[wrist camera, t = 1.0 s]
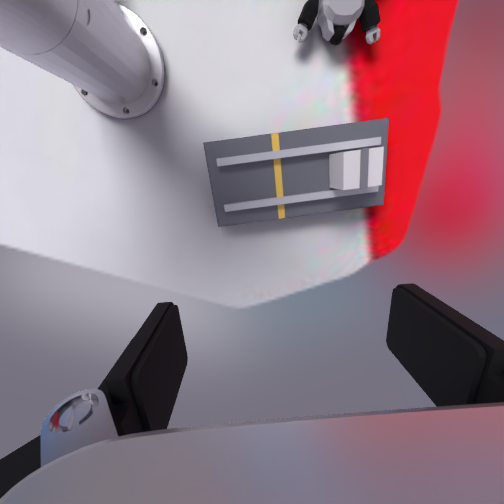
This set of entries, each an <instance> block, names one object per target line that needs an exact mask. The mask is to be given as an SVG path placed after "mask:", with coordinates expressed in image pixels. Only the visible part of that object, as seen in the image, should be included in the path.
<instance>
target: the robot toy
mask: <svg viewBox="0 0 504 504" xmlns="http://www.w3.org/2000/svg"><path fill="white" fill-rule="evenodd" d="M316 16H317V18H318V24H319V25H320V27H321V31H322V36H323V38H324V39H325V40H326V41H329V40H330V42H331V44H332V45H338V44H340V43H341V41H342V40H343V39H345V38H346V37H347V35H348V34H349V33H350V32H351V31H352V30H353V27H354V25H355V23H356V20H357V19H358V18H359V16H360V22H361V27H362V32H366V31H367V33H366V41H367V43H368V44H372V43H373V42H376V41H377V40H378V39H379V37H380V29H379V28H378V27H377V24H378V23H379V22H380V15H379V9H378V4H377V3H376V2H375V1H374V0H320V1H319V0H308V1H307V2H306V4H305V5H304V7H303V9H302V12H301V14H300V17H299V19H298V25H297V26H296V27H295V29H294V34H293V35H294V38H295V39H296V40H297V37H298V34H301V35H302V36H301V38H300V39H299V42H304V41H305V39H306V38H307V34H308V31H309V30H310V29H311V27H312V25H313V23H314V21H315V18H316ZM373 38H374V40H373Z"/></svg>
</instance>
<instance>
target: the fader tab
mask: <svg viewBox="0 0 504 504" xmlns="http://www.w3.org/2000/svg"><path fill="white" fill-rule="evenodd" d="M383 154H384V147H377V148H362V149H360V150H354V151H347V152H341V153H335V154H330V155H329V179H330V188H334V189H340V190H349V189H356V188H359V189H366V188H368V187H371V186H378V185H382V171H383Z"/></svg>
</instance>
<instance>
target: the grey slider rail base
mask: <svg viewBox="0 0 504 504" xmlns="http://www.w3.org/2000/svg"><path fill="white" fill-rule="evenodd" d="M388 124H389V118H386V119H378V120H371V121H363V122H356V123H348V124H341V125H333V126H326V127H318V128H311V129H303V130H296V131H288V132H281V133H273V134H266V135H258V136H251V137H243V138H236V139H228V140H221V141H213V142H206V143H203V144H204V149H205V155H206V160H207V166H208V172H209V177H210V183H211V188H212V194H213V200H214V205H215V211H216V217H217V222H218V227H220V226H228V225H235V224H243V223H250V222H258V221H265V220H273V219H281V218H287V217H295V216H302V215H310V214H317V213H325V212H332V211H340V210H347V209H355V208H362V207H370V206H377V205H384V189H385V172H386V156H387V140H388ZM377 147H384V154H383V171H382V185H378V186H371V187H368V188H366V189H359V188H356V189H349V190H340V189H334V188H330V179H329V155H330V154H335V153H341V152H347V151H354V150H360V149H362V148H377Z"/></svg>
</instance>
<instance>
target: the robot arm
mask: <svg viewBox="0 0 504 504" xmlns="http://www.w3.org/2000/svg"><path fill="white" fill-rule="evenodd" d="M145 33H147V34H146V35H145ZM144 35H145V36H144ZM0 47H2V48H4V49H5V50H7V51H9V52H11V53H13V54H15V55H17V56H19V57H21V58H23V59H25V60H27V61H29V62H31V63H33V64H34V65H36V66H38V67H40V68H42V69H44V70H46V71H48V72H50V73H52V74H54V75H56V76H58V77H60V78H62V79H64V80H65V81H67V82H69V83H71V84H73V86H74V87H75V89H76V90H77V92H78V93H79V94H80V95H81V97H82V98H83V99H84V100H85V101H86V102H87V103H89V104H90V105H91V106H92V107H94V108H95V109H97V110H98V111H100V112H102V113H104V114H106V115H109V116H112V117H115V118H122V119H128V118H135V117H138V116H141V115H143V114H144V113H146V112H148V111H149V110H150V109H151V108H152V107H153V106H154V105H155V103H156V102H157V100H158V99H159V97H160V94H161V92H162V89H163V84H164V72H165V70H164V62H163V57H162V54H161V50H160V47H159V45H158V43H157V41H156V39H155V37H154V36H153V34H152V32H151V31H150V29H149V28H148V27H147V25H146V24H145V23H144V21H143V20H142V19H141V18H140V17H139V16H137V15H136V14H135V13H134V12H133V11H131V10H130V9H128V8H127V7H125V6H123V5H120V4H118V3H116V2H115V1H114V0H0ZM156 83H158V85H157V86H155V84H156ZM87 93H88V95H87ZM128 110H129V113H127V111H128ZM386 342H387V346H388V348H389V350H391V352H392V353H393V354H394V355H395V357H396V358H397V359H398V360H399V361H400V363H401V364H402V365H403V366H404V368H405V369H406V370H407V371H408V372H409V374H410V375H411V376H412V377H413V378H414V379H415V381H416V382H417V383H418V384H419V386H420V387H421V388H422V389H423V390H424V392H426V394H427V395H428V396H429V398H430V399H431V400H432V401H433V403H434V404H435V405H436V406H437V407H425V408H411V409H397V410H384V411H372V412H371V411H370V412H358V413H344V414H332V415H319V416H306V417H294V418H282V419H270V420H258V421H246V422H235V423H223V424H211V425H201V426H192V427H181V428H172V429H167V426H168V423H169V420H170V417H171V414H172V411H173V407H174V404H175V401H176V398H177V394H178V391H179V388H180V385H181V382H182V378H183V375H184V372H185V369H186V366H187V351H186V346H185V342H184V336H183V331H182V325H181V320H180V315H179V310H178V306H177V305H174V304H173V303H172V302H164V303H158V304H157V305H156V306H155V308H154V309H153V311H152V312H151V313H150V315H149V316H148V318H147V319H146V321H145V322H144V324H143V325H142V327H141V328H140V329H139V331H138V332H137V334H136V335H135V337H134V338H133V339H132V340H131V342H130V343H129V345H128V346H127V347H126V349H125V350H124V352H123V353H122V355H121V356H120V358H119V359H118V360H117V362H116V363H115V365H114V366H113V368H112V369H111V370H110V372H109V373H108V375H107V376H106V378H105V379H104V381H103V382H102V383H101V385H100V386H99V388H98V389H87V390H83V391H80V392H78V393H76V394H73V395H71V396H70V397H68V398H66V399H65V400H63V401H62V402H60V403H59V404H58V405H57V406H56V407H54V408H53V409H52V411H51V412H50V413H49V414H48V415H47V416H46V418H45V420H44V421H43V423H42V426H41V431H40V433H41V435H40V436H38V437H36V438H35V439H33V440H31V441H30V442H28V443H27V444H25V445H23V446H22V447H20V448H18V449H17V450H15V451H14V452H12V453H10V454H9V455H7V456H6V457H4V458H2V459H1V460H0V504H504V341H503V340H502V339H500V338H499V337H497V336H495V335H494V334H492V333H491V332H489V331H488V330H486V329H484V328H483V327H481V326H480V325H478V324H477V323H475V322H473V321H472V320H470V319H469V318H467V317H466V316H464V315H462V314H461V313H459V312H458V311H456V310H455V309H453V308H451V307H450V306H448V305H447V304H445V303H444V302H442V301H440V300H439V299H437V298H436V297H434V296H433V295H431V294H429V293H428V292H426V291H425V290H423V289H421V288H420V287H419V286H417V285H415V284H400V285H398V286H397V287H396V288H394V289H393V292H392V300H391V307H390V315H389V322H388V330H387V338H386Z"/></svg>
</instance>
